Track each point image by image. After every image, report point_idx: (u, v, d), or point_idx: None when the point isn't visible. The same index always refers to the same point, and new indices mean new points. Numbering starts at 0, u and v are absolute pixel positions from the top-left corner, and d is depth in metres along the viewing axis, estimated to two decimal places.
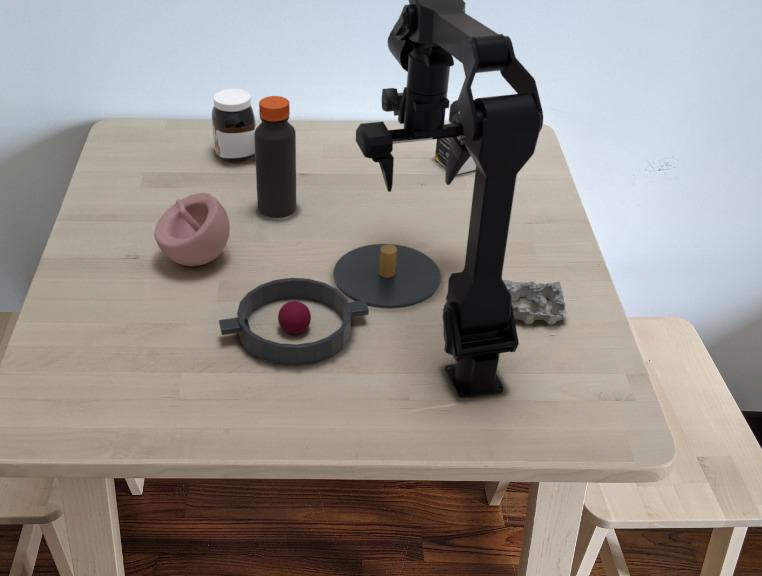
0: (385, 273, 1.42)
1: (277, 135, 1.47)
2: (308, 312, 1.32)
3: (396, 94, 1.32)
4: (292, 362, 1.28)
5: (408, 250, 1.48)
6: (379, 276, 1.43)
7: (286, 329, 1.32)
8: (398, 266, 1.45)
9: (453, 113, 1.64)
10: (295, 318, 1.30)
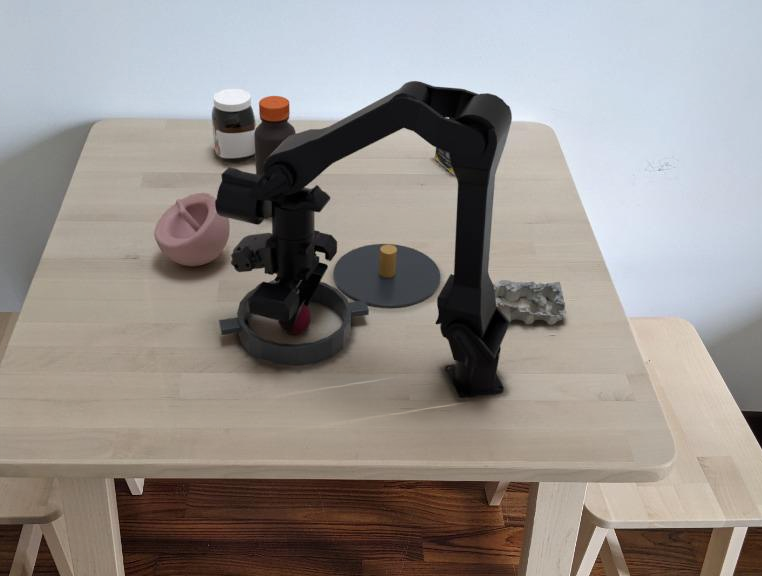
0: (385, 273, 1.42)
1: (277, 135, 1.47)
2: (308, 312, 1.32)
3: (250, 250, 1.24)
4: (292, 362, 1.28)
5: (408, 250, 1.48)
6: (379, 276, 1.43)
7: None
8: (398, 266, 1.45)
9: None
10: None
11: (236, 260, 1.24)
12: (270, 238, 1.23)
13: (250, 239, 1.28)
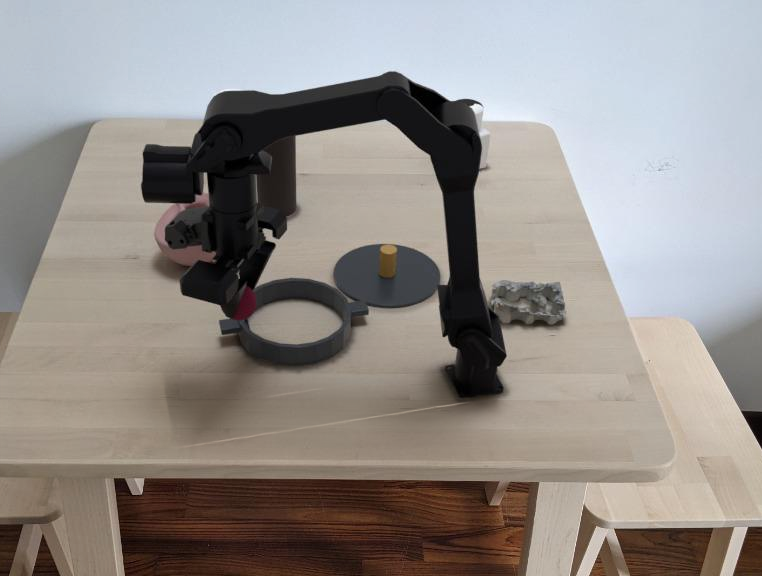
0: (385, 273, 1.42)
1: None
2: (253, 296, 1.18)
3: (185, 225, 1.10)
4: (292, 362, 1.28)
5: (408, 250, 1.48)
6: (379, 276, 1.43)
7: None
8: (398, 266, 1.45)
9: None
10: None
11: (169, 236, 1.10)
12: (207, 211, 1.09)
13: (187, 213, 1.14)
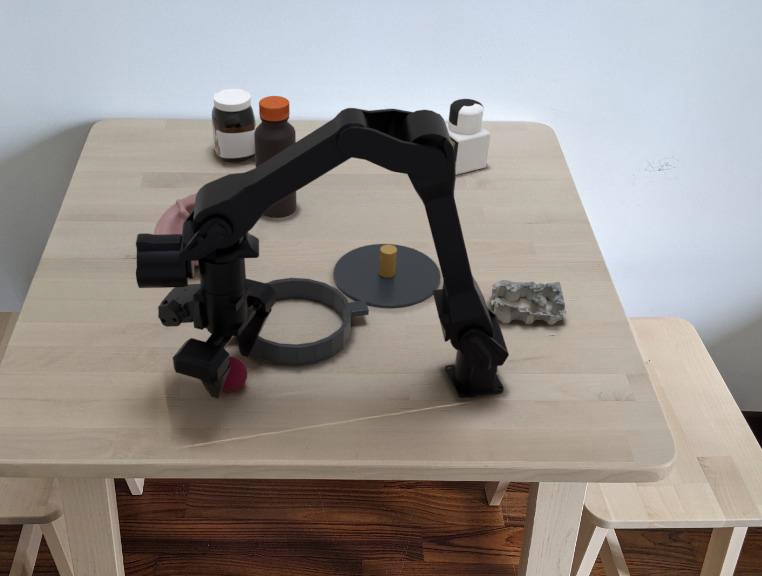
0: (385, 273, 1.42)
1: (277, 135, 1.47)
2: (243, 368, 1.23)
3: (177, 304, 1.15)
4: (292, 362, 1.28)
5: (408, 250, 1.48)
6: (379, 276, 1.43)
7: None
8: (398, 266, 1.45)
9: (453, 113, 1.64)
10: (228, 376, 1.21)
11: (162, 314, 1.15)
12: (198, 291, 1.14)
13: (180, 290, 1.19)
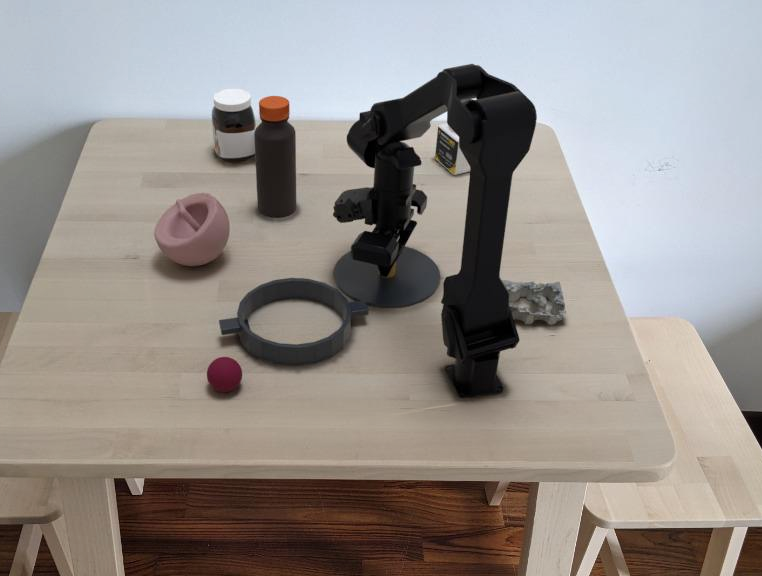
0: None
1: (277, 135, 1.47)
2: (235, 366, 1.22)
3: (352, 202, 1.35)
4: (292, 362, 1.28)
5: (408, 250, 1.48)
6: (379, 276, 1.43)
7: (217, 389, 1.23)
8: (398, 266, 1.45)
9: None
10: (220, 377, 1.21)
11: (339, 211, 1.35)
12: (372, 190, 1.33)
13: (349, 193, 1.38)
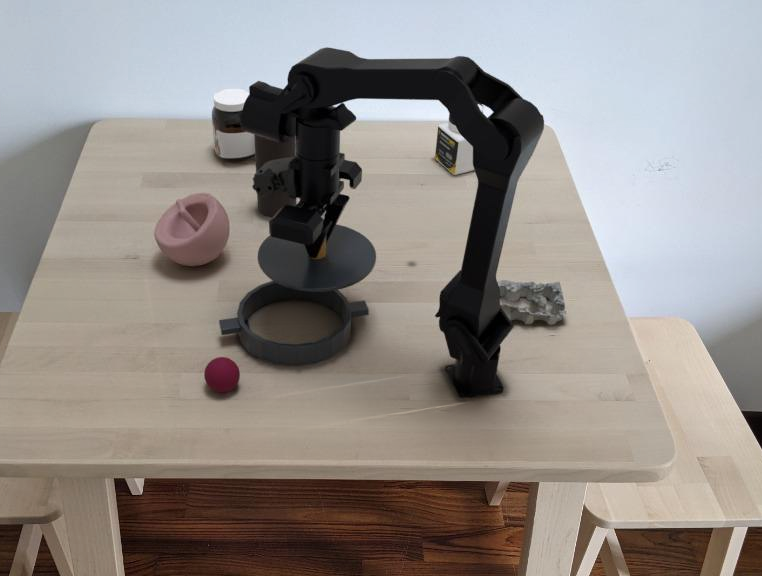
0: None
1: None
2: (230, 365, 1.22)
3: (272, 173, 1.20)
4: (292, 362, 1.28)
5: (343, 229, 1.34)
6: (308, 257, 1.28)
7: (216, 390, 1.23)
8: (330, 246, 1.30)
9: None
10: (216, 378, 1.21)
11: (258, 183, 1.20)
12: (293, 159, 1.18)
13: (272, 163, 1.24)
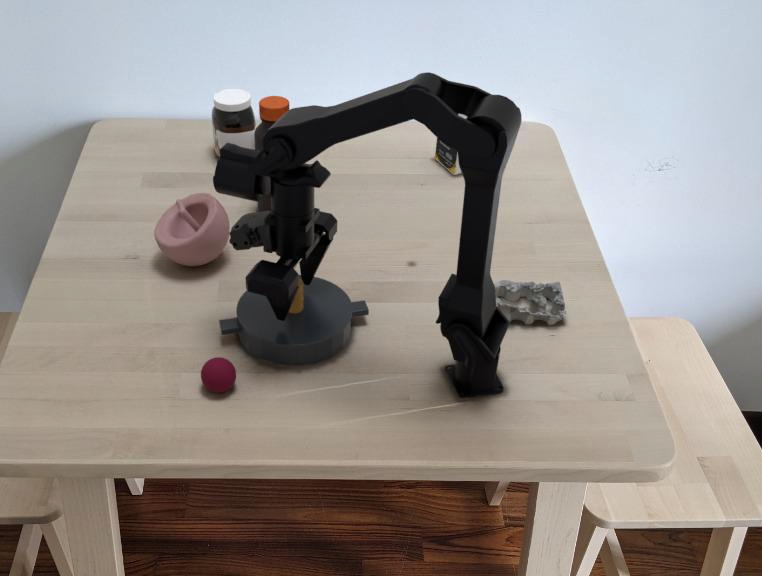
0: (291, 308, 1.30)
1: None
2: (224, 365, 1.22)
3: (249, 228, 1.22)
4: (292, 362, 1.28)
5: (321, 282, 1.36)
6: None
7: (214, 391, 1.23)
8: (308, 300, 1.33)
9: None
10: (211, 379, 1.21)
11: (234, 238, 1.22)
12: (269, 215, 1.20)
13: (249, 217, 1.25)
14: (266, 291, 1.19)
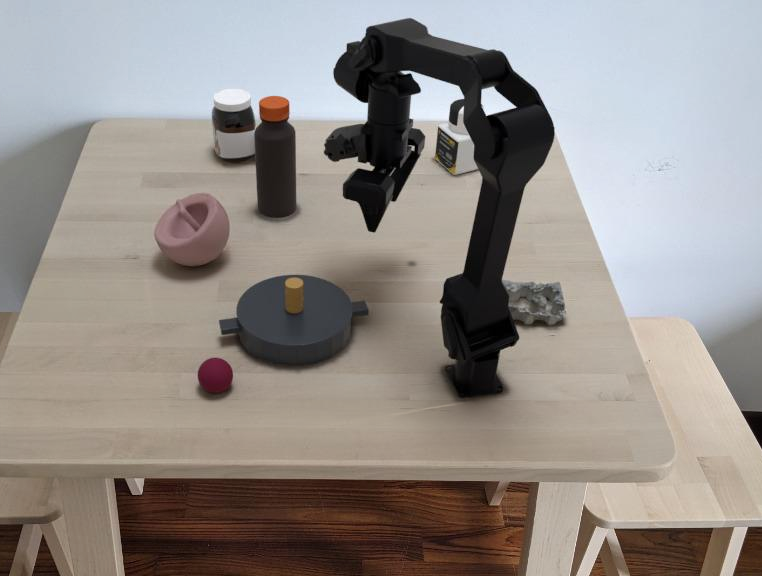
0: (291, 308, 1.30)
1: (277, 135, 1.47)
2: (217, 365, 1.22)
3: (344, 138, 1.25)
4: (292, 362, 1.28)
5: (321, 282, 1.36)
6: (285, 312, 1.31)
7: (213, 392, 1.23)
8: (308, 300, 1.33)
9: (453, 113, 1.64)
10: (207, 380, 1.21)
11: (330, 148, 1.25)
12: (365, 125, 1.24)
13: (342, 130, 1.29)
14: (363, 197, 1.22)
